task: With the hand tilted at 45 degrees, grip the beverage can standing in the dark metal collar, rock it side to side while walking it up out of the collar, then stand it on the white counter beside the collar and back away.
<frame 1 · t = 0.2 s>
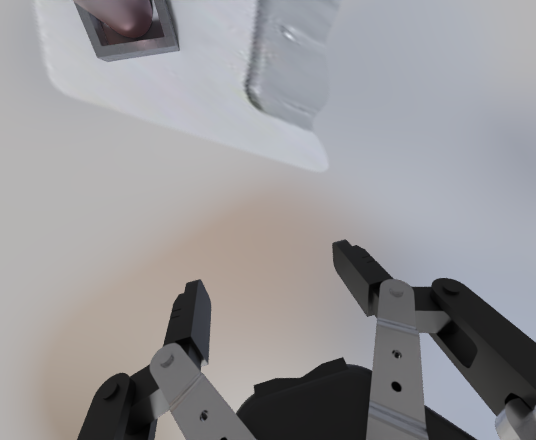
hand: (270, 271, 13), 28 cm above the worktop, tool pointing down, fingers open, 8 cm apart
collar: (128, 9, 28), on the worktop
beverage can: (128, 10, 28), resting in collar
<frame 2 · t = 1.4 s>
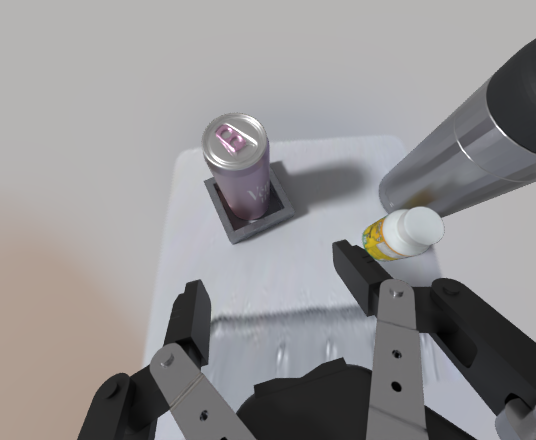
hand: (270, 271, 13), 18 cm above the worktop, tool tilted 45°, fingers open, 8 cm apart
collar: (249, 202, 33), on the worktop
supplement bottle: (378, 242, 31), on the worktop
beverage can: (249, 202, 33), resting in collar
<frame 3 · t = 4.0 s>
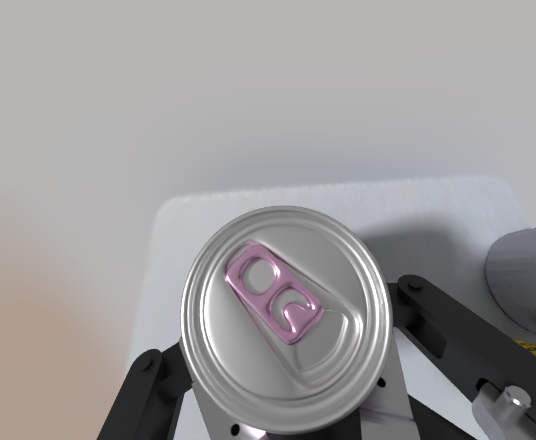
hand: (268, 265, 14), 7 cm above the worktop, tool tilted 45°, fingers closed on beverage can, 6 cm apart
beverage can: (274, 290, 20), resting in collar, touching gripper
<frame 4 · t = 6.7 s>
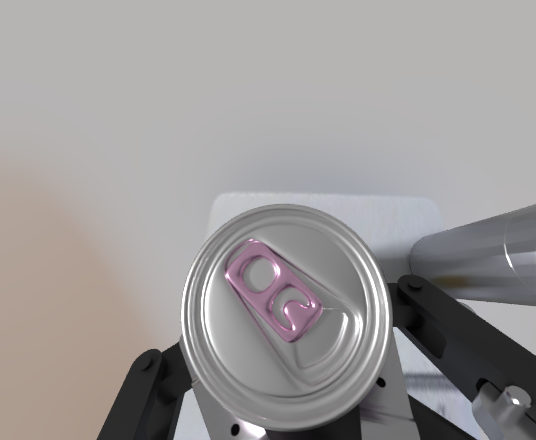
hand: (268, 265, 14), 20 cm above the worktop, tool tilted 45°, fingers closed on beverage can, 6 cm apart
beverage can: (274, 289, 20), point 13 cm above the worktop, touching gripper
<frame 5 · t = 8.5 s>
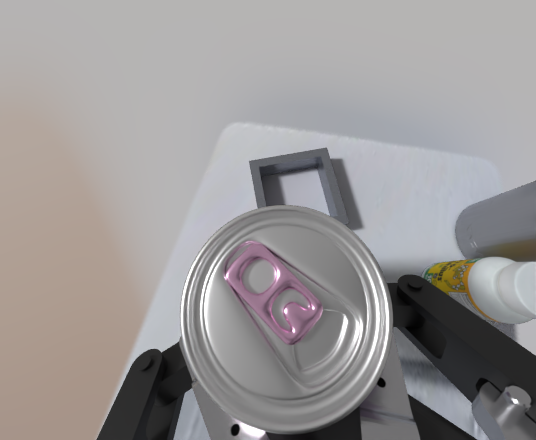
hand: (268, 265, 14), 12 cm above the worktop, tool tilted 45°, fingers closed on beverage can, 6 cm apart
collar: (294, 198, 28), on the worktop
supplement bottle: (441, 287, 25), on the worktop
beverage can: (274, 289, 20), point 5 cm above the worktop, touching gripper
when the fingers open (8 cm above the worktop, at t = 9.8 s): beverage can stays where it is, on the worktop.
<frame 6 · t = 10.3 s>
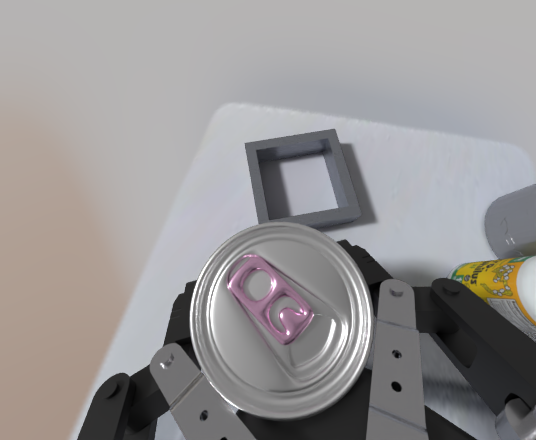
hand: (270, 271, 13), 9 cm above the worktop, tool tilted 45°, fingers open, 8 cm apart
collar: (297, 187, 24), on the worktop
supplement bottle: (470, 291, 21), on the worktop
beverage can: (273, 291, 21), on the worktop
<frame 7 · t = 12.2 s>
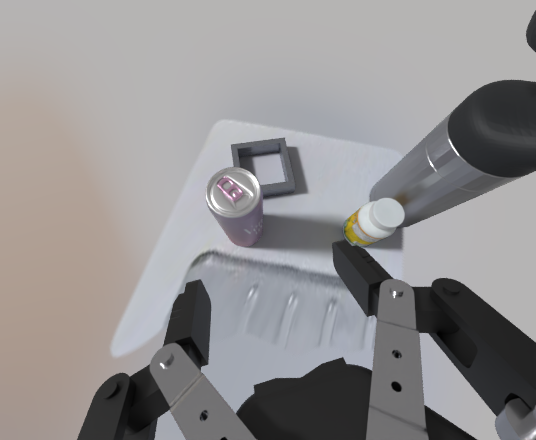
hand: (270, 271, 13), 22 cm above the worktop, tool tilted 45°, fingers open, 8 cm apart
collar: (262, 172, 40), on the worktop
supplement bottle: (357, 231, 37), on the worktop
beverage can: (245, 229, 37), on the worktop
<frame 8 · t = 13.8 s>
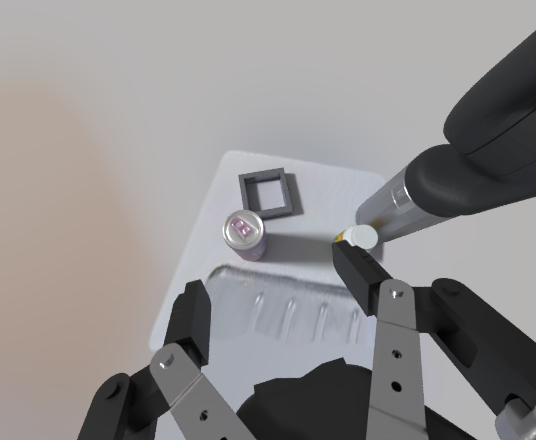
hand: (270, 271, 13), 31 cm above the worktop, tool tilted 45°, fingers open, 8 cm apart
collar: (265, 196, 47), on the worktop
supplement bottle: (345, 246, 44), on the worktop
beverage can: (251, 246, 45), on the worktop
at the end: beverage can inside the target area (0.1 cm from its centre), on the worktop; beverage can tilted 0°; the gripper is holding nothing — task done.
